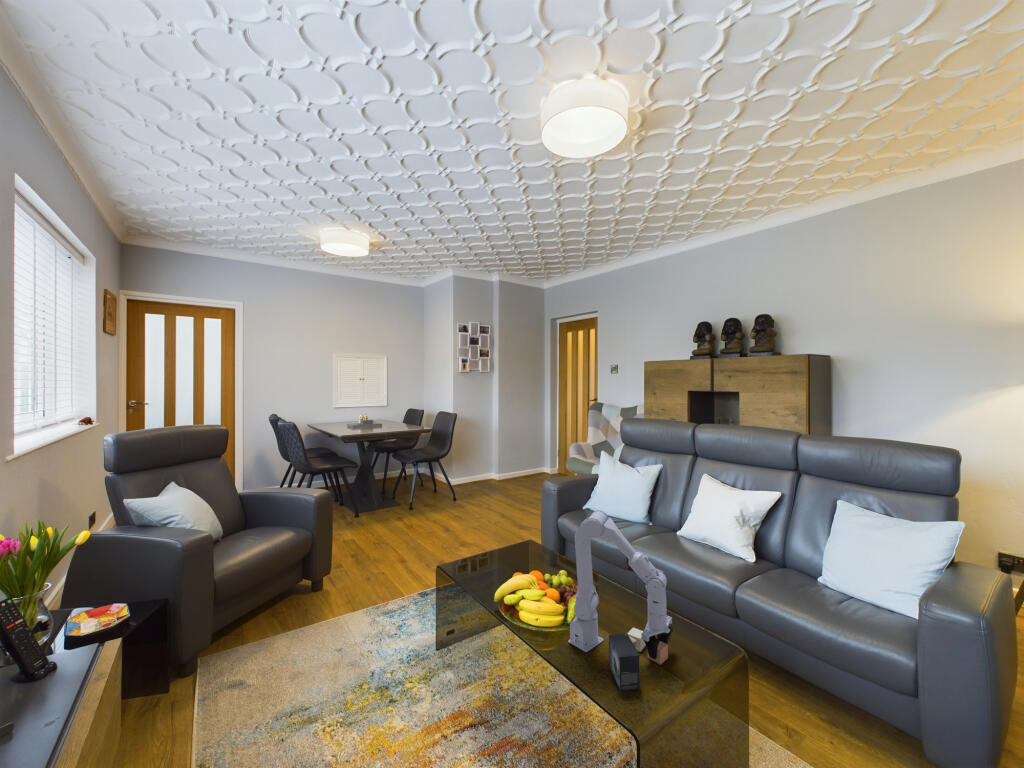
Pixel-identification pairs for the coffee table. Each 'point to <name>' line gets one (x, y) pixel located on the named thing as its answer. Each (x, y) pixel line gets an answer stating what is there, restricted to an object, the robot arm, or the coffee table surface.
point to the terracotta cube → (660, 653)
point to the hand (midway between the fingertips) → (657, 653)
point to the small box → (624, 662)
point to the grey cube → (637, 638)
